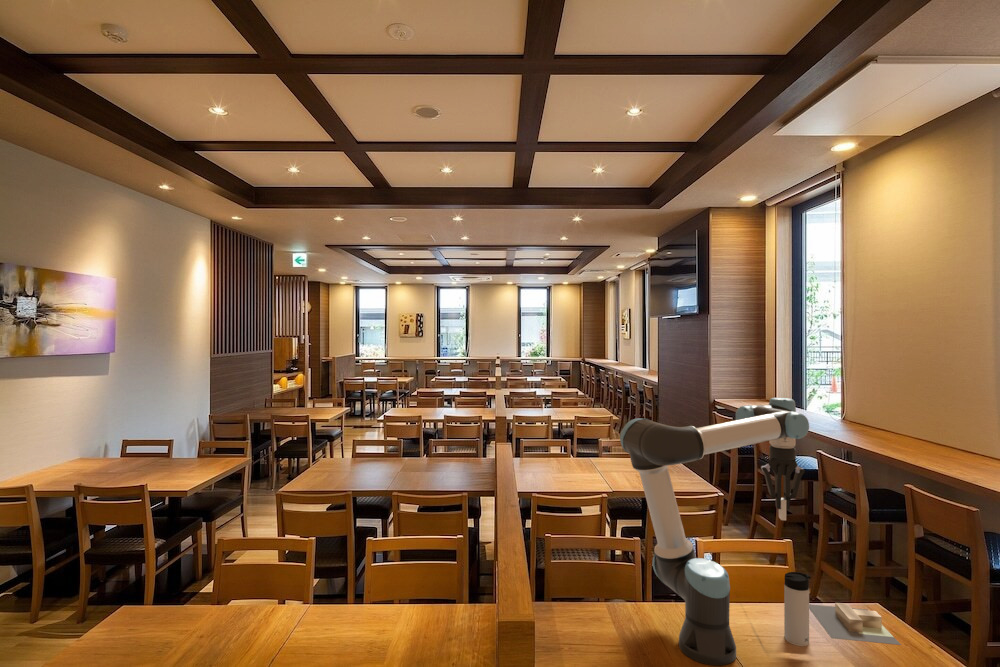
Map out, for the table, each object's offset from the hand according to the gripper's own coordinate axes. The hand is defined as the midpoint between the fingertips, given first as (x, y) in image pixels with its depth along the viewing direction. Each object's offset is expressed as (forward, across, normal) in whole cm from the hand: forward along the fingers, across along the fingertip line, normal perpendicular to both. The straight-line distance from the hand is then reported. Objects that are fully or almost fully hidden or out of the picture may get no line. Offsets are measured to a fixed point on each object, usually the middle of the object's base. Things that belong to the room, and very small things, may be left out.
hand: (782, 518), depth 174 cm
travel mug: (+30, -2, -20) cm, 36 cm away
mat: (+29, +17, -7) cm, 35 cm away
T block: (+28, +20, -7) cm, 35 cm away
